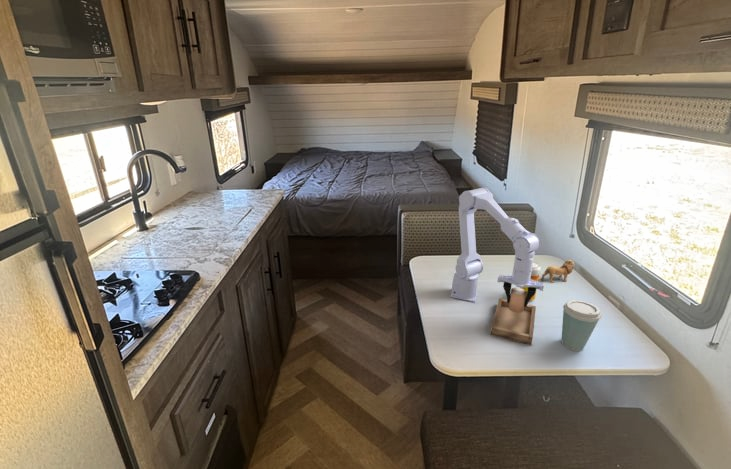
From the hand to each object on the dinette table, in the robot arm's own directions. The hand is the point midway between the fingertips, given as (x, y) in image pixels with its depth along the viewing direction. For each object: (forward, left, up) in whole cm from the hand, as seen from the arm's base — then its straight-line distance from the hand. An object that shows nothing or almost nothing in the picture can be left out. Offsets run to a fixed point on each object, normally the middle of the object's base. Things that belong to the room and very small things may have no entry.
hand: (516, 303), depth 131 cm
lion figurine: (+14, +41, -9) cm, 44 cm away
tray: (0, 0, -8) cm, 8 cm away
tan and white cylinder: (0, 0, -2) cm, 2 cm away
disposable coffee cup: (+19, -4, -9) cm, 21 cm away
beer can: (+3, +20, -9) cm, 22 cm away
